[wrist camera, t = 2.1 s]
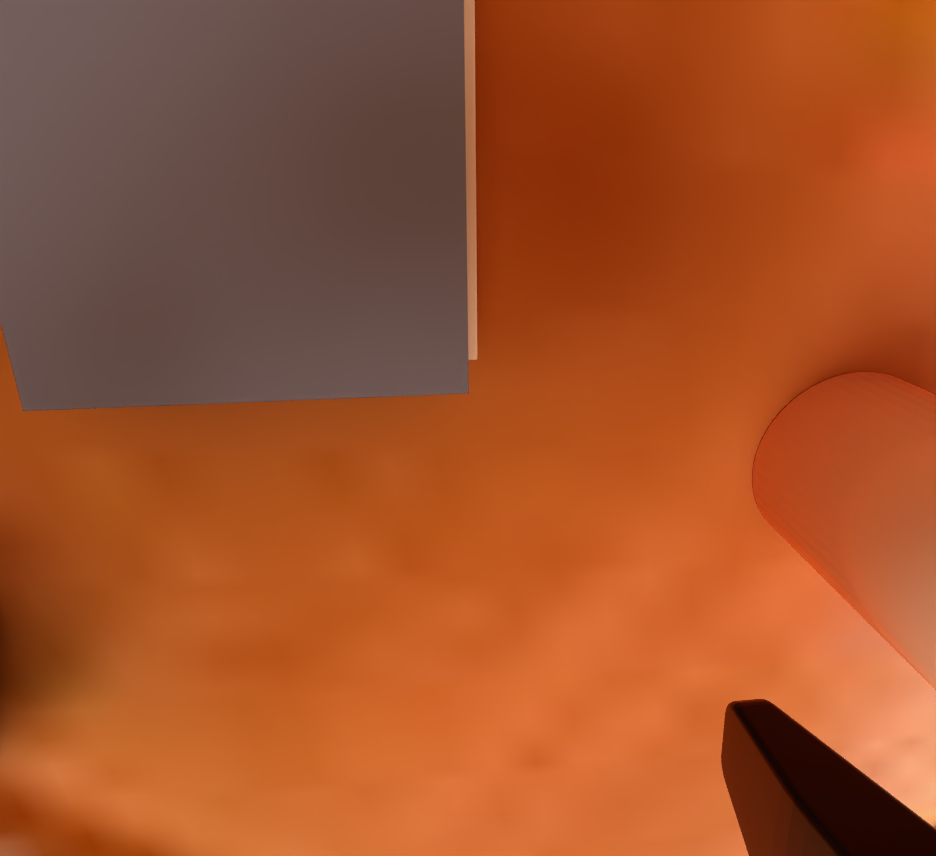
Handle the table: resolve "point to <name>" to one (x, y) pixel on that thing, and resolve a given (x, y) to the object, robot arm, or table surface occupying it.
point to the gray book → (237, 200)
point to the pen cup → (861, 500)
